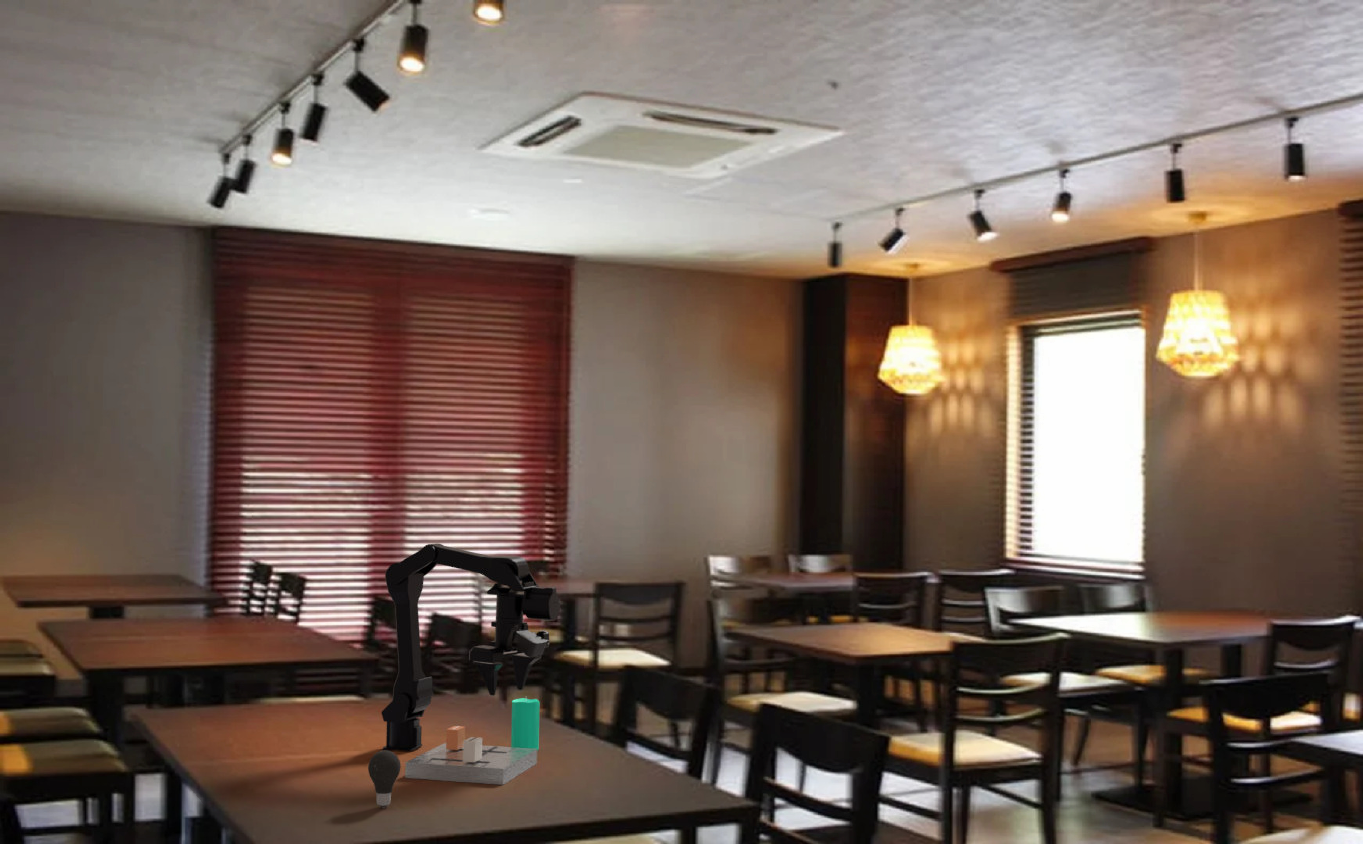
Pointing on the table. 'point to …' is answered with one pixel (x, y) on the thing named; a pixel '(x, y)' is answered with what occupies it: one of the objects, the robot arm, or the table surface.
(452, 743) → the fader orange
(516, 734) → the candle
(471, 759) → the fader cream
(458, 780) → the grey slider board
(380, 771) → the light bulb
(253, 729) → the table surface
